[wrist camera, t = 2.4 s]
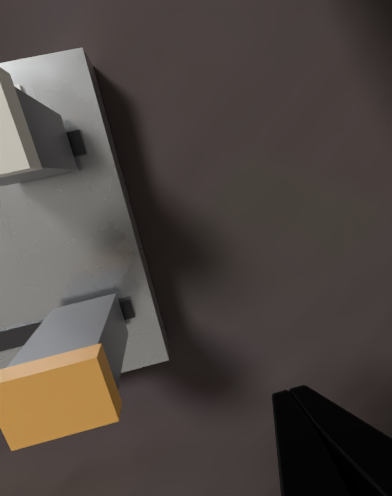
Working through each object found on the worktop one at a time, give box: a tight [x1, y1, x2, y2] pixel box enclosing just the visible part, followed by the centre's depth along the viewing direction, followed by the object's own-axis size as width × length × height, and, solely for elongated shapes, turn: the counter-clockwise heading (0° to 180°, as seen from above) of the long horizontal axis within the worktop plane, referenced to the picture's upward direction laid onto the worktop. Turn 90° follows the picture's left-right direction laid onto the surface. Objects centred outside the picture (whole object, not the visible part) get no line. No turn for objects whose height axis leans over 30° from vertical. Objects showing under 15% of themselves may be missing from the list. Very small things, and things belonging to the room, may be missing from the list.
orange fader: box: [0, 293, 128, 451], centre depth 12 cm, size 3×2×5 cm
